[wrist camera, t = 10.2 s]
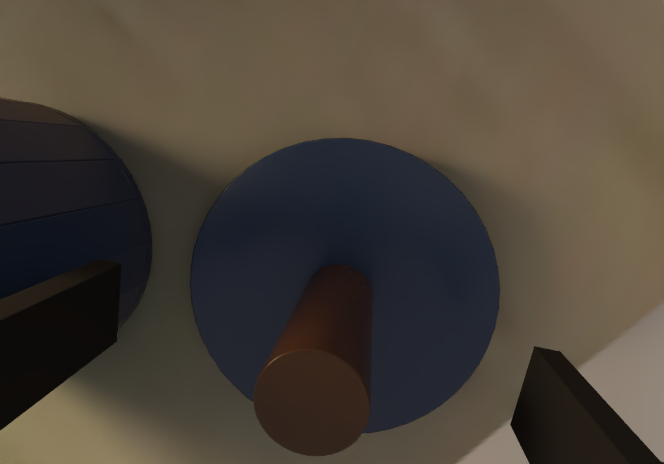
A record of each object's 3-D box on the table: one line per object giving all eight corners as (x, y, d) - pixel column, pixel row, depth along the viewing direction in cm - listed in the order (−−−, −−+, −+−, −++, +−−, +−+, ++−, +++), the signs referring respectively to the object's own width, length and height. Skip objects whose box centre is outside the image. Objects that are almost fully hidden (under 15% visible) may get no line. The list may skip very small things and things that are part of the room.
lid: (217, 114, 18) (67, 79, 9) (528, 168, 17) (686, 187, 8) (187, 385, 21) (51, 554, 12) (452, 445, 20) (512, 675, 11)
